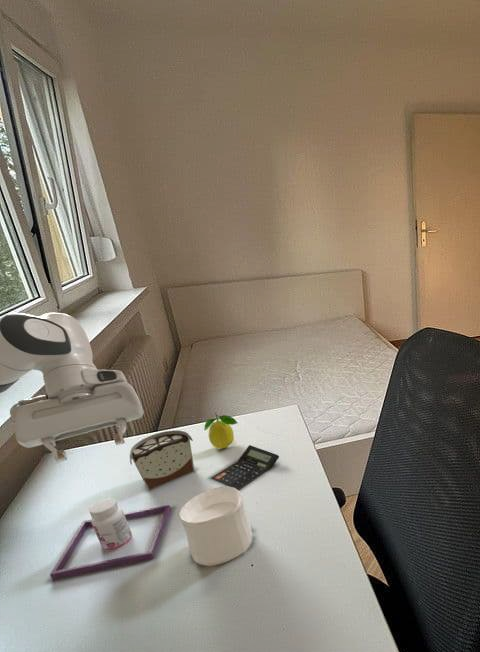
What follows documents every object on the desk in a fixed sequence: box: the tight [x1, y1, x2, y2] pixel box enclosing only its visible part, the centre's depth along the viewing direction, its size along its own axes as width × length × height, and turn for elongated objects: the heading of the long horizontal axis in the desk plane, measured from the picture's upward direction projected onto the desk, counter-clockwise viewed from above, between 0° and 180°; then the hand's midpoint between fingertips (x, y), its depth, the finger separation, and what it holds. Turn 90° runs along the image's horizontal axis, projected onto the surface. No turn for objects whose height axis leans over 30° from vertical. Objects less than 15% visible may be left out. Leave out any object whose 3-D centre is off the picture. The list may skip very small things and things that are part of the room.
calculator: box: [210, 444, 280, 491], centre depth 98 cm, size 9×12×3 cm
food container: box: [129, 429, 195, 491], centre depth 96 cm, size 12×6×10 cm, turn 133°
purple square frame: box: [49, 504, 172, 581], centre depth 79 cm, size 15×13×2 cm
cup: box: [178, 486, 253, 567], centre depth 75 cm, size 10×10×10 cm
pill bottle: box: [88, 497, 133, 552], centre depth 78 cm, size 5×5×8 cm
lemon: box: [204, 412, 238, 449], centre depth 107 cm, size 7×6×10 cm
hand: (91, 451), depth 84 cm, fingers open, 8 cm apart
